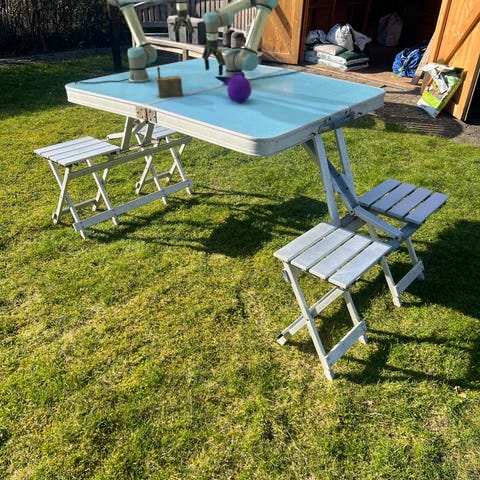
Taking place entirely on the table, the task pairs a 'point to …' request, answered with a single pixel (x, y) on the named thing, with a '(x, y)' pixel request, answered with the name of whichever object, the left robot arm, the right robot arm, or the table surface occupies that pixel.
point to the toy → (237, 86)
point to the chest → (169, 88)
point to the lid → (171, 78)
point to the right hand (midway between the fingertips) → (214, 72)
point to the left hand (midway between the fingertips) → (184, 42)
